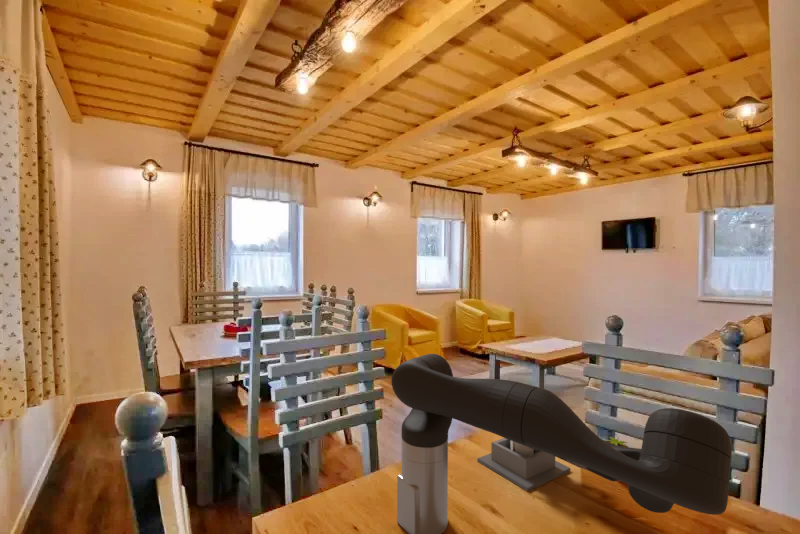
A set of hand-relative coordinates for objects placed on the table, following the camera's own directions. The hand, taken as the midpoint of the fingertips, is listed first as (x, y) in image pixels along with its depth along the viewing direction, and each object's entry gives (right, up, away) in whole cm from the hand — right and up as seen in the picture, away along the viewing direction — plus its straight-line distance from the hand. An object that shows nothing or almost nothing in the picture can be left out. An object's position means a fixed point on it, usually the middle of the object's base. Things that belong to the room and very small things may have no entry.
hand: (517, 421), depth 103 cm
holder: (+1, -11, -1) cm, 11 cm away
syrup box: (+1, -9, -1) cm, 9 cm away
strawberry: (+22, -11, -5) cm, 26 cm away
